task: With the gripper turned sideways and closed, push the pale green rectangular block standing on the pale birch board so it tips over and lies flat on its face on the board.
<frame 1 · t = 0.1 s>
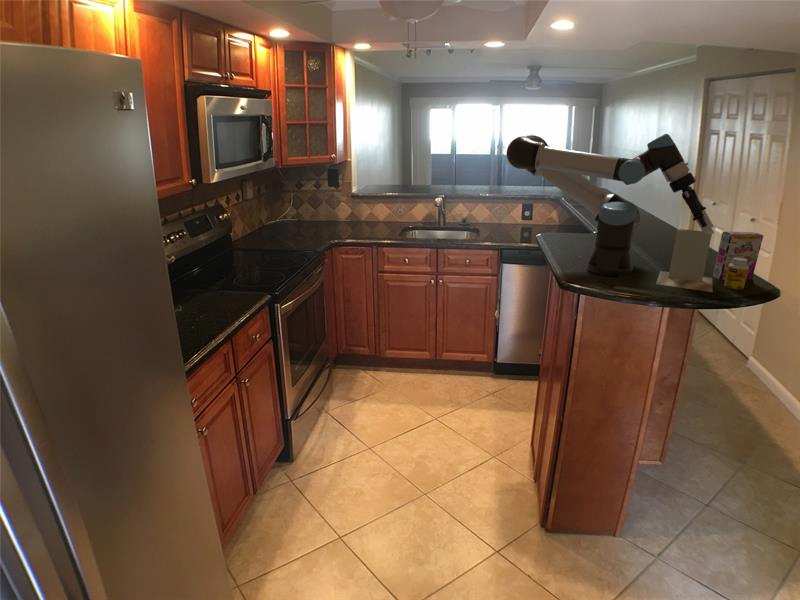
hand: (709, 231, 184), 15 cm above the countertop, tool tilted 35°, fingers open, 13 cm apart
board: (684, 283, 178), on the countertop
pale green rectangular block: (685, 278, 180), point 1 cm above the countertop, touching board
supplement bottle: (732, 290, 172), on the countertop
candy bar box: (731, 281, 182), on the countertop
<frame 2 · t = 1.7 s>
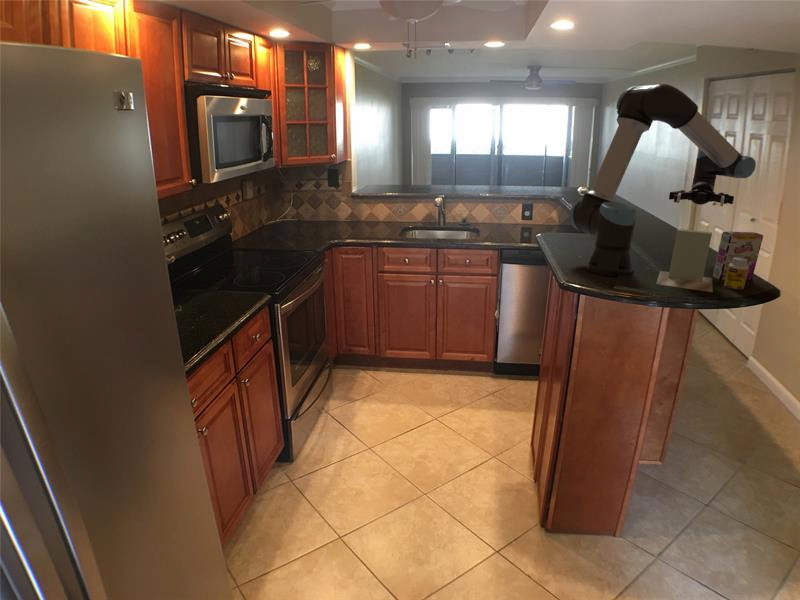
hand: (699, 200, 182), 25 cm above the countertop, tool horizontal, fingers open, 12 cm apart
nothing on the countertop moved.
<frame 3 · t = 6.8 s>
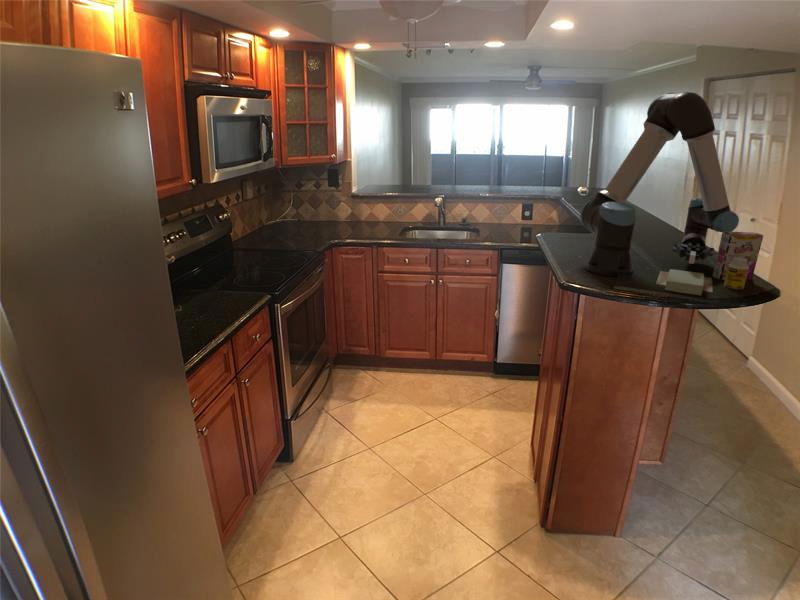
hand: (692, 259, 174), 8 cm above the countertop, tool horizontal, fingers closed
pale green rectangular block: (685, 275, 178), point 2 cm above the countertop, tilted 90°, touching board
everything else where it was.
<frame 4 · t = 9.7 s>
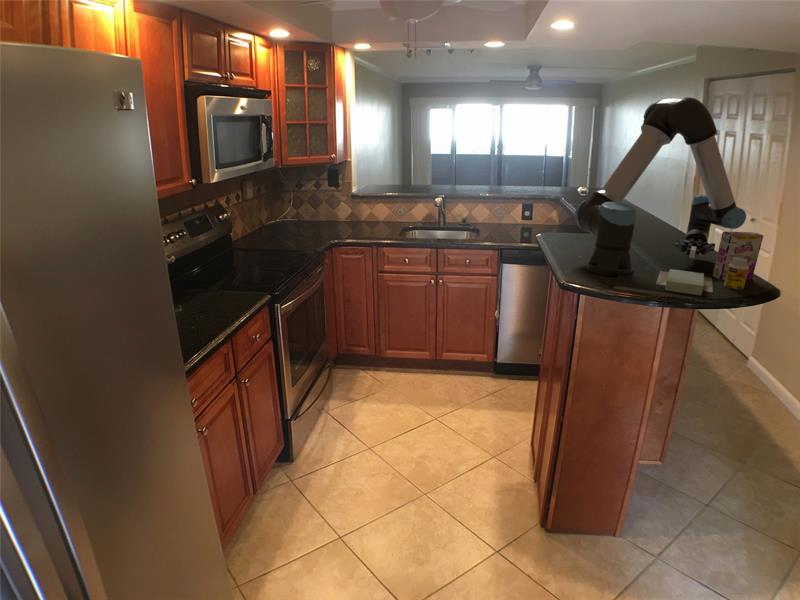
hand: (692, 254, 180), 9 cm above the countertop, tool horizontal, fingers closed
nothing on the countertop moved.
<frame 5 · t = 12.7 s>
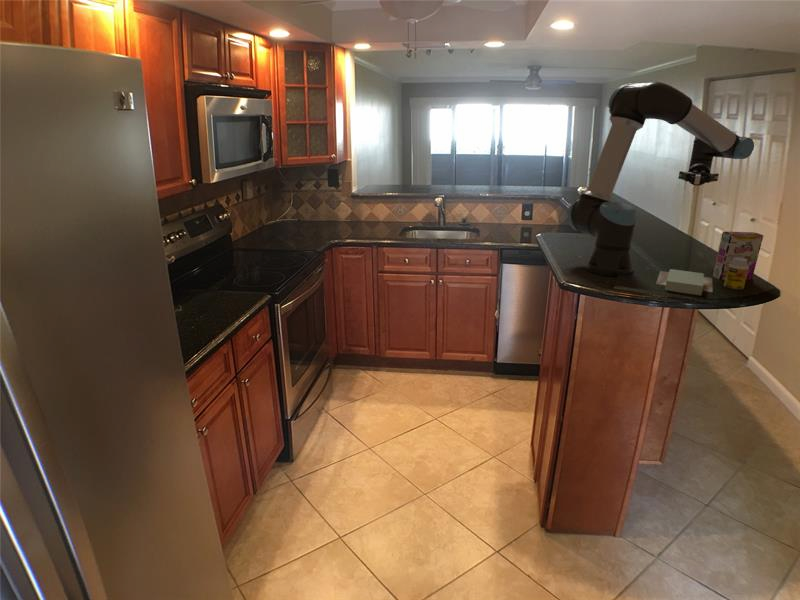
hand: (697, 180, 181), 32 cm above the countertop, tool horizontal, fingers closed
nothing on the countertop moved.
at the end: pale green rectangular block tilted 90°; pale green rectangular block touching board; pale green rectangular block inside the target area (0.2 cm from its centre), point 2.5 cm above the countertop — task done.
